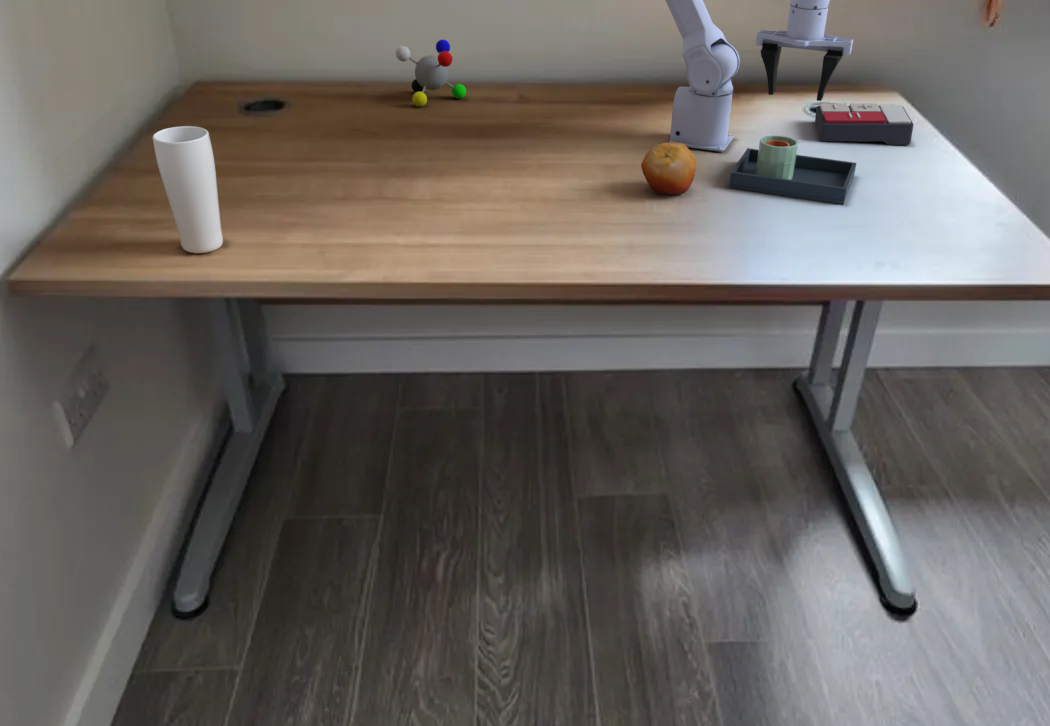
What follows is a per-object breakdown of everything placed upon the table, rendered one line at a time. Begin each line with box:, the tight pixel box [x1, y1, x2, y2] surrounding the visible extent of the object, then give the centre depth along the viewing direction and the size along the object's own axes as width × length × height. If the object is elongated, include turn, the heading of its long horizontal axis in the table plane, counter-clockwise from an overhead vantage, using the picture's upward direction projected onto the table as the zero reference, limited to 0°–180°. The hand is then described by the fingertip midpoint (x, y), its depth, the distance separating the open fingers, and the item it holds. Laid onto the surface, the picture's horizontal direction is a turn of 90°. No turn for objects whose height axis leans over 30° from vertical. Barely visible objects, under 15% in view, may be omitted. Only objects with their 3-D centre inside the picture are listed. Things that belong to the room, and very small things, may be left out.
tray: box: [728, 147, 858, 205], centre depth 151 cm, size 17×12×2 cm
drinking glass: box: [152, 125, 224, 254], centre depth 124 cm, size 7×7×15 cm
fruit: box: [640, 142, 697, 195], centre depth 146 cm, size 8×8×8 cm
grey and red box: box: [814, 102, 915, 146], centre depth 170 cm, size 11×4×15 cm
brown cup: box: [766, 140, 790, 147], centre depth 150 cm, size 4×4×4 cm
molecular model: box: [395, 39, 467, 108], centre depth 183 cm, size 11×13×10 cm
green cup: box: [756, 134, 799, 180], centre depth 150 cm, size 6×6×6 cm
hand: (795, 96), depth 156 cm, fingers open, 7 cm apart
